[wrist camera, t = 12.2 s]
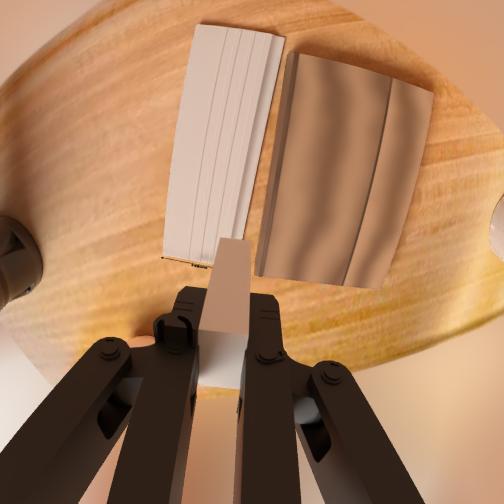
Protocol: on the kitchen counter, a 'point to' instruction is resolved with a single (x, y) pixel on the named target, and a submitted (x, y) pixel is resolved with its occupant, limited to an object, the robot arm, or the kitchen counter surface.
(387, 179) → the grooved tan panel
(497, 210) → the utensil holder
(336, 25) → the kitchen counter surface
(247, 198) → the baseboard molding
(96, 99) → the kitchen counter surface
